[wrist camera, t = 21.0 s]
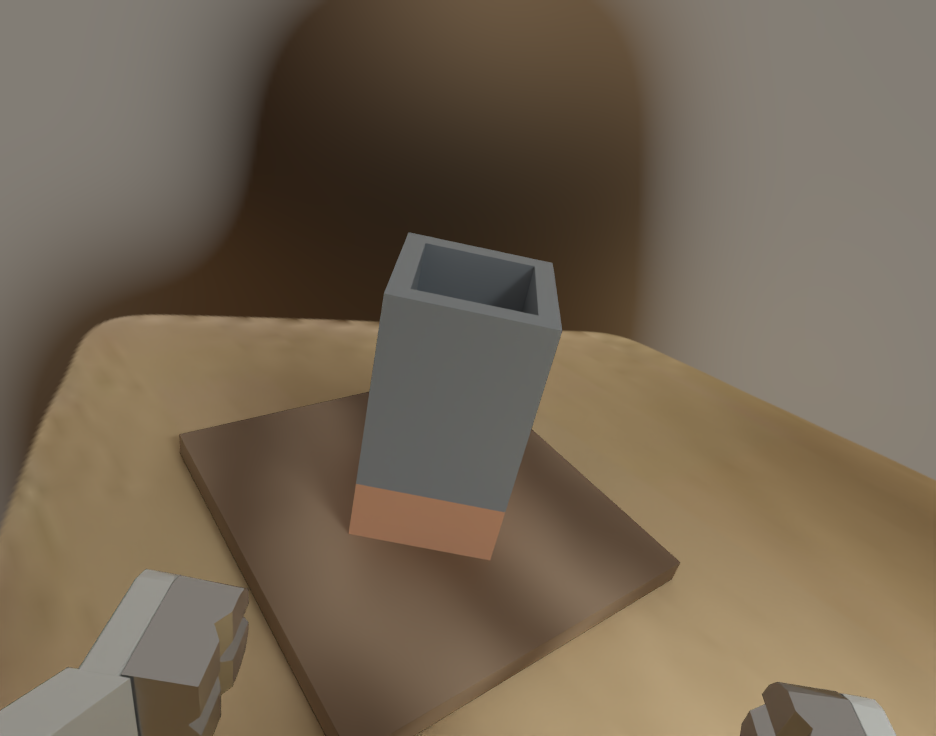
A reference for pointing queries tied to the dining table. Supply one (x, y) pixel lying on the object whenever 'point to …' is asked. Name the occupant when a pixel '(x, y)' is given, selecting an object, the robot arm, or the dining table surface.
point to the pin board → (409, 570)
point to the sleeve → (453, 394)
